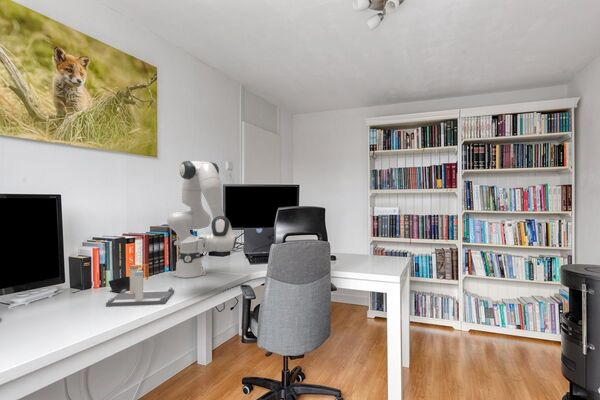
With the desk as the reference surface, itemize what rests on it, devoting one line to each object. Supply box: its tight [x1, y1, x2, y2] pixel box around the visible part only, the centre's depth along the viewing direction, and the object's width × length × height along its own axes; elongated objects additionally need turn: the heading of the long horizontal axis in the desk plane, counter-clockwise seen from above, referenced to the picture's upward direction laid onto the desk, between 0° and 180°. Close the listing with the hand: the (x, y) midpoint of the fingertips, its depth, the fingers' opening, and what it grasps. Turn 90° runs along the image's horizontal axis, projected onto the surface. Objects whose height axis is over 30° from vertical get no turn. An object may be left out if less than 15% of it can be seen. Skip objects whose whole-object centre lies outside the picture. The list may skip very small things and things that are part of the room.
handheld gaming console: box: [108, 276, 130, 295], centre depth 163 cm, size 12×7×10 cm
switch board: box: [105, 287, 175, 308], centre depth 148 cm, size 18×24×2 cm
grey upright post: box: [129, 264, 139, 292], centre depth 154 cm, size 3×3×13 cm
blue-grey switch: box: [135, 270, 145, 301], centre depth 142 cm, size 3×3×13 cm
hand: (174, 242), depth 159 cm, fingers closed
